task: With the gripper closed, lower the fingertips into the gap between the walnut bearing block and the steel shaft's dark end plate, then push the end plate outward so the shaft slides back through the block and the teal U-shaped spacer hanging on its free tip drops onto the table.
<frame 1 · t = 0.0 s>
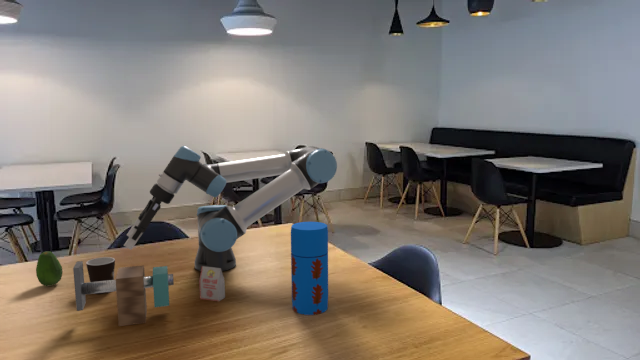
hand: (128, 242, 168), 15 cm above the table, tool tilted 35°, fingers open, 13 cm apart
thermos: (310, 308, 151), on the table
coffee mug: (105, 289, 168), on the table
spacer: (161, 301, 147), point 4 cm above the table, touching shaft
avocado: (50, 286, 171), on the table
bearing block: (133, 317, 145), on the table
shaft: (126, 280, 143), point 11 cm above the table, slide at 0.0 cm, touching spacer
white paper food packet: (212, 298, 159), on the table
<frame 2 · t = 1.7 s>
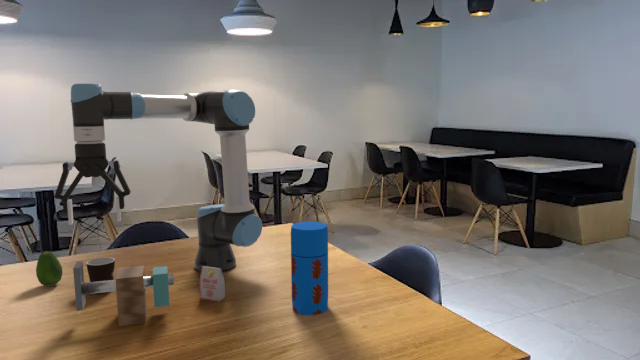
hand: (95, 222, 139), 28 cm above the table, tool pointing down, fingers open, 11 cm apart
nothing on the table moved.
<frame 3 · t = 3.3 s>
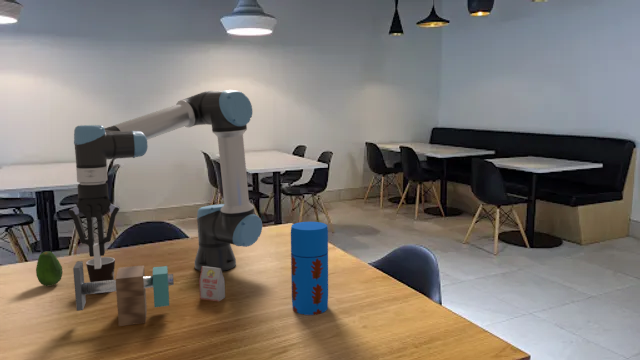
hand: (98, 267, 140), 16 cm above the table, tool pointing down, fingers closed
nothing on the table moved.
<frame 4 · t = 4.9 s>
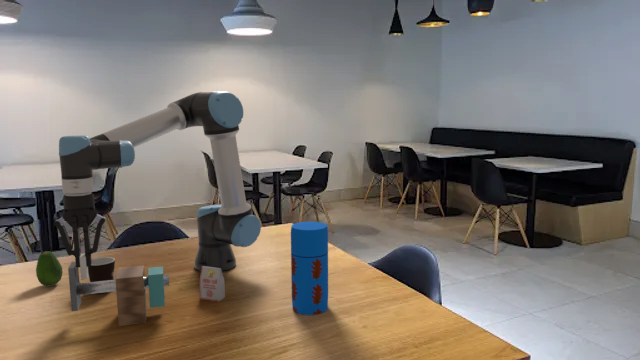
hand: (84, 277, 140), 13 cm above the table, tool pointing down, fingers closed
spacer: (157, 302, 147), point 4 cm above the table, touching shaft
shaft: (121, 281, 143), point 11 cm above the table, slide at 1.2 cm, touching gripper, spacer
everything else where it was.
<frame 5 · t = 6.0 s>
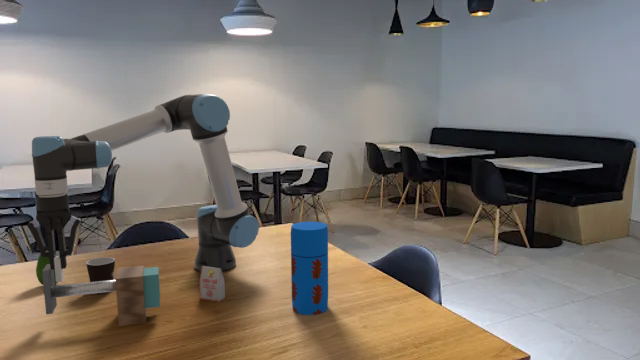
hand: (59, 280, 138), 13 cm above the table, tool pointing down, fingers closed
spacer: (152, 303, 146), point 4 cm above the table, touching shaft
shaft: (97, 283, 141), point 11 cm above the table, slide at 7.4 cm, touching gripper, spacer
everything else where it was.
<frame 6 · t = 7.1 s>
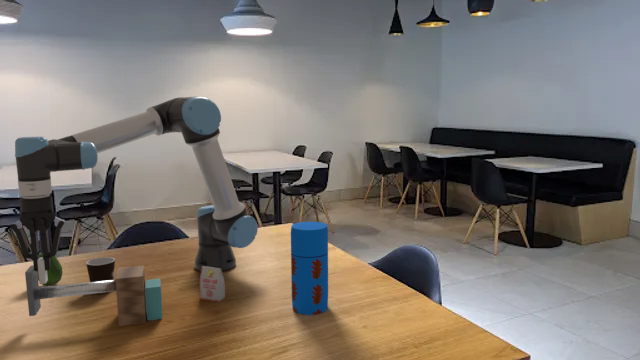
hand: (43, 282, 137), 13 cm above the table, tool pointing down, fingers closed
spacer: (155, 314, 147), on the table
shaft: (81, 285, 140), point 11 cm above the table, slide at 11.4 cm, touching gripper
everything else where it was.
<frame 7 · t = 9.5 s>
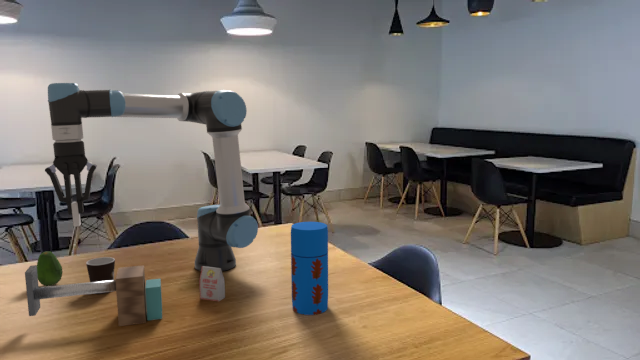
hand: (77, 225, 142), 27 cm above the table, tool pointing down, fingers closed
shaft: (81, 285, 140), point 11 cm above the table, slide at 11.5 cm
everything else where it was.
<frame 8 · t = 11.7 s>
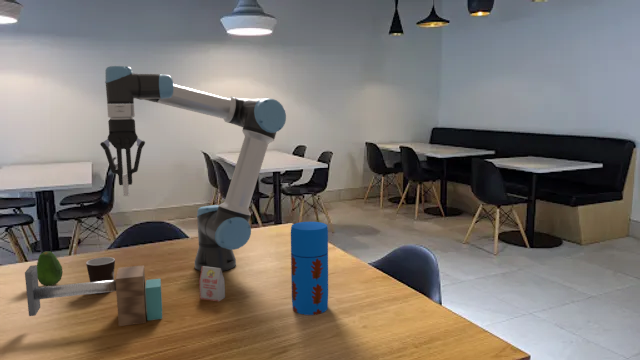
hand: (126, 195, 157), 32 cm above the table, tool pointing down, fingers closed
nothing on the table moved.
at the end: shaft slide at 11.5 cm; spacer touching table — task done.
